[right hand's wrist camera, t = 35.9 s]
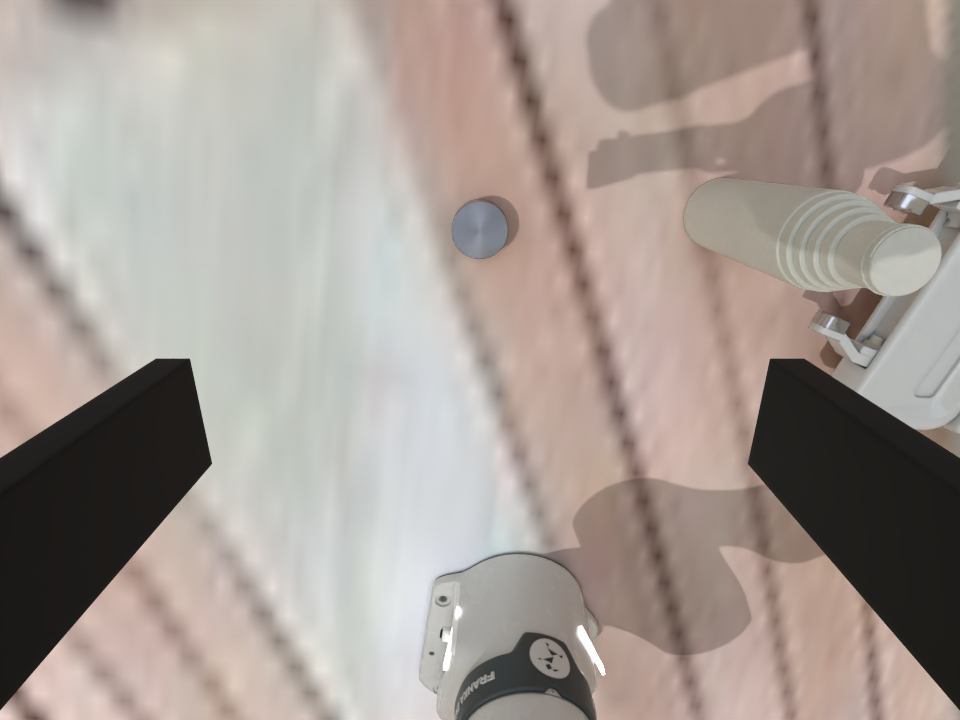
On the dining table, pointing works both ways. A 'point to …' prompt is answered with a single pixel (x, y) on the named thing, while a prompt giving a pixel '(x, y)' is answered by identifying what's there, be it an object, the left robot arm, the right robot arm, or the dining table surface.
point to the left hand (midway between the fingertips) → (854, 260)
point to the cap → (479, 229)
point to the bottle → (812, 236)
